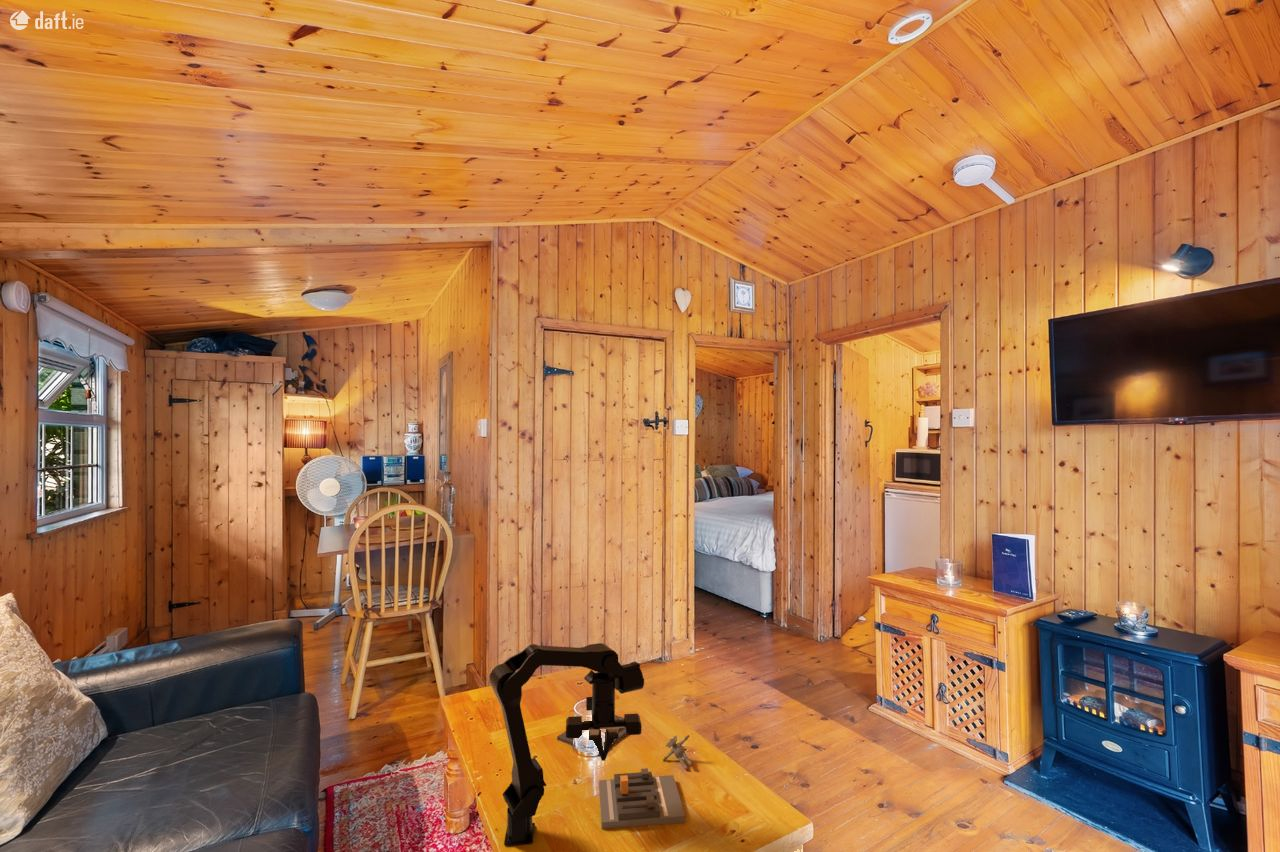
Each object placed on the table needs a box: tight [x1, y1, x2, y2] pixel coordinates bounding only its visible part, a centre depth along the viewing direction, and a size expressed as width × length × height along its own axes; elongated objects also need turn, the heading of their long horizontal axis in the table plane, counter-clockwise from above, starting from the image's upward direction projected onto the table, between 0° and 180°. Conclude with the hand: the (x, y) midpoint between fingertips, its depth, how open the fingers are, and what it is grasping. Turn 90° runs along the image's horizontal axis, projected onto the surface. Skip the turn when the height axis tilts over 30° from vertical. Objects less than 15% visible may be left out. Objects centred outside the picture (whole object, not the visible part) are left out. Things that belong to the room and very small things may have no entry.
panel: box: [598, 767, 686, 830], centre depth 146 cm, size 17×20×4 cm
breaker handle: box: [620, 775, 628, 794], centre depth 145 cm, size 2×2×3 cm
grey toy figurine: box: [662, 734, 693, 771], centre depth 164 cm, size 10×6×9 cm
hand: (603, 759), depth 145 cm, fingers closed
